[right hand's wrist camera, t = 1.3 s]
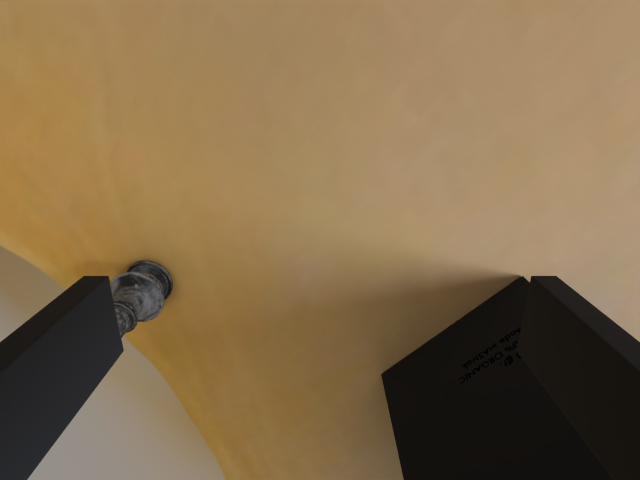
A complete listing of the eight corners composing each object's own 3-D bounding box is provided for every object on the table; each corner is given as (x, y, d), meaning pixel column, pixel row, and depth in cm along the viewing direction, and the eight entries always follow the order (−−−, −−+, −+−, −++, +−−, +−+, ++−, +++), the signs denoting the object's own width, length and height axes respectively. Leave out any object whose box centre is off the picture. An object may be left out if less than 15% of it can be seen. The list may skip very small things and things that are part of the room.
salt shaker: (152, 314, 47) (99, 385, 36) (111, 280, 46) (43, 343, 34) (185, 284, 46) (142, 347, 34) (145, 248, 44) (85, 302, 33)
